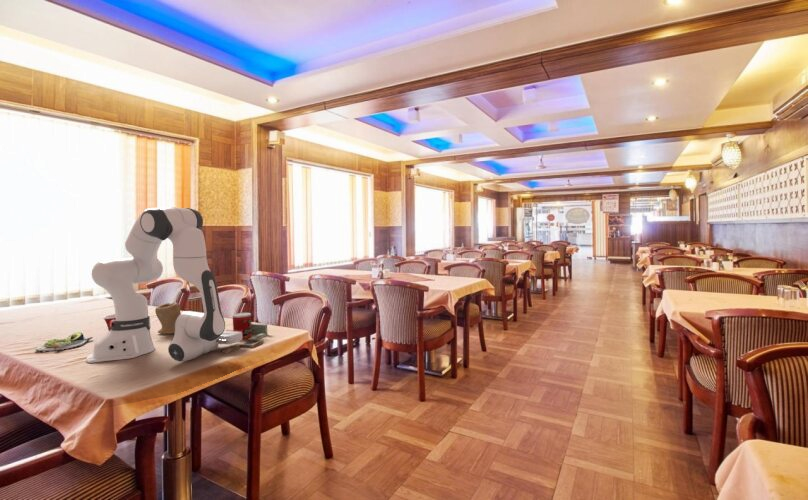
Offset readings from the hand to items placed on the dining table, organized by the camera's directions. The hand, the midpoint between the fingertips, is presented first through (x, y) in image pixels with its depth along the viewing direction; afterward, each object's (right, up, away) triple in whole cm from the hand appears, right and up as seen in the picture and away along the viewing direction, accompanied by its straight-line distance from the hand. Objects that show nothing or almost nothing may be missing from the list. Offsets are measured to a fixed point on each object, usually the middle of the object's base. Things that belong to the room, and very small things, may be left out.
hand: (230, 331), depth 173 cm
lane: (+1, -5, +1) cm, 5 cm away
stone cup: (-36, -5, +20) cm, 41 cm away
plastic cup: (-56, -6, +10) cm, 57 cm away
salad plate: (-75, -7, +3) cm, 75 cm away
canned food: (+2, -5, +8) cm, 9 cm away
